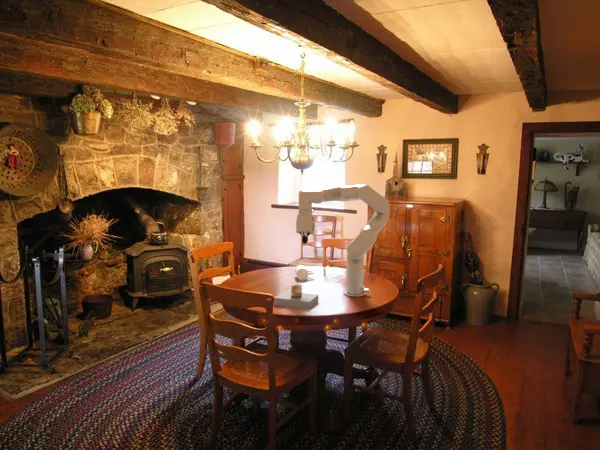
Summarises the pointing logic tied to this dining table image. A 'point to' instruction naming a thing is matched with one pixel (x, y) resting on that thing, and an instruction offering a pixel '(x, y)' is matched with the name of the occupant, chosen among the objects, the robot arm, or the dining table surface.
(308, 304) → the grey block with hole
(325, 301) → the dining table surface
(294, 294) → the maple peg
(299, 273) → the mug
